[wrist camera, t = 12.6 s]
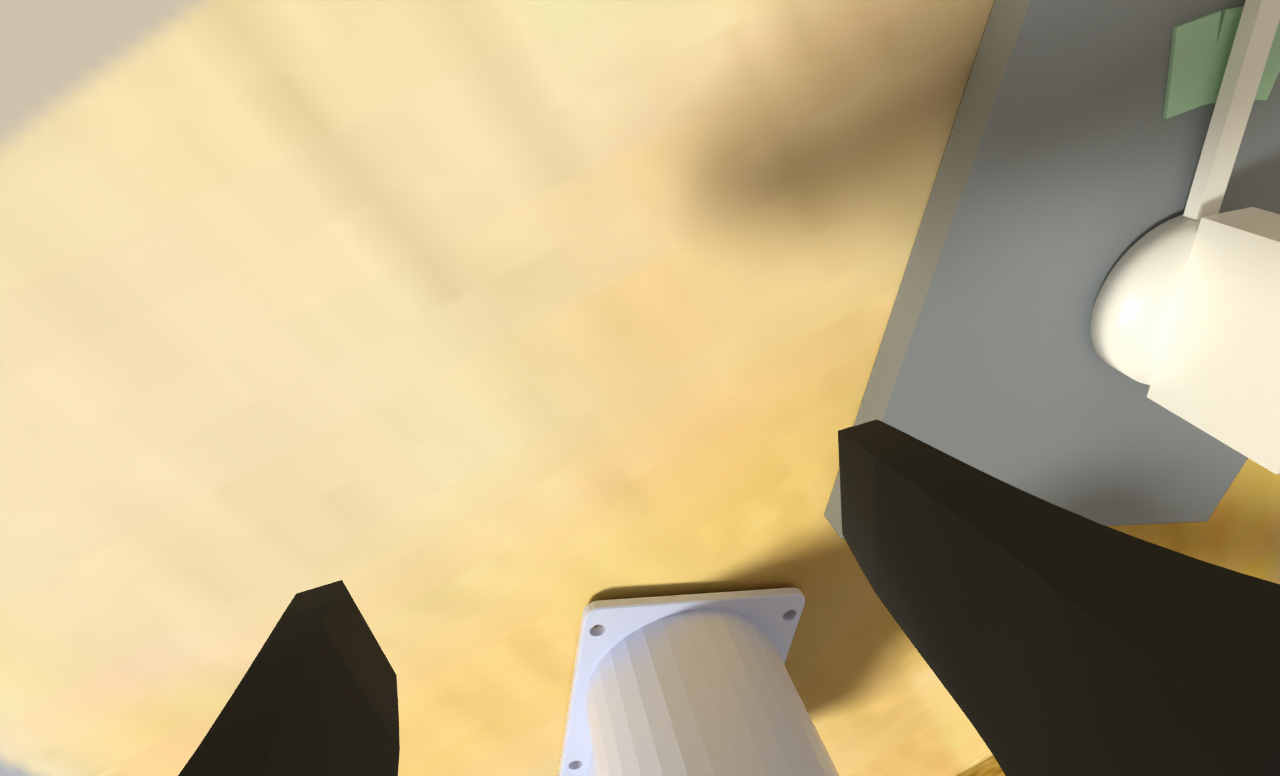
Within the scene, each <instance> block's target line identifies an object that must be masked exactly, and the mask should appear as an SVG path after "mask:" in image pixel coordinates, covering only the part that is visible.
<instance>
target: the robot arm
mask: <svg viewBox="0 0 1280 776" xmlns="http://www.w3.org/2000/svg"><path fill="white" fill-rule="evenodd" d="M838 442H839V467H840V492H841V518H842V534H843V536H844V538H845V540H846V542H847V543H848V545H849V547H850V549H851V551H852V553H853V554H854V556H855V558H856V560H857V562H858V564H859V565H860V567H861V569H862V571H863V572H864V574H865V576H866V577H867V579H868V581H869V583H870V584H871V586H872V588H873V590H874V591H875V593H876V594H877V596H878V597H879V598H880V600H881V601H882V603H883V604H884V605H885V607H886V608H887V609H888V611H889V612H890V614H891V615H892V616H893V618H894V619H895V620H896V622H897V623H898V624H899V626H900V627H901V629H902V630H903V631H904V633H905V634H906V635H907V637H908V638H909V639H910V641H911V642H912V644H913V645H914V646H915V648H916V649H917V650H918V652H919V653H920V654H921V656H922V657H923V658H924V660H925V661H926V662H927V664H928V665H929V666H930V668H931V669H932V670H933V672H934V673H935V674H936V676H937V677H938V679H939V680H940V681H941V683H942V684H943V685H944V687H945V688H946V689H947V691H948V692H949V693H950V695H951V696H952V697H953V699H954V700H955V701H956V703H957V704H958V705H959V707H960V708H961V709H962V711H963V712H964V714H965V715H966V716H967V718H968V719H969V720H970V722H971V723H972V724H973V726H974V727H975V729H976V730H977V732H978V733H979V735H980V736H981V738H982V739H983V741H984V742H985V743H986V745H987V746H988V748H989V749H990V751H991V752H992V754H993V755H994V757H995V759H996V760H997V762H998V763H999V765H1000V767H1001V768H1002V770H1003V772H1004V773H1005V775H1006V776H1280V585H1279V584H1276V583H1273V582H1269V581H1266V580H1262V579H1259V578H1255V577H1252V576H1248V575H1245V574H1242V573H1238V572H1235V571H1232V570H1229V569H1226V568H1223V567H1219V566H1216V565H1213V564H1210V563H1207V562H1204V561H1201V560H1198V559H1195V558H1192V557H1189V556H1186V555H1184V554H1181V553H1178V552H1175V551H1172V550H1169V549H1167V548H1164V547H1161V546H1158V545H1155V544H1152V543H1149V542H1147V541H1144V540H1141V539H1138V538H1135V537H1133V536H1130V535H1128V534H1125V533H1122V532H1120V531H1117V530H1114V529H1112V528H1109V527H1107V526H1104V525H1102V524H1099V523H1097V522H1095V521H1092V520H1090V519H1087V518H1085V517H1083V516H1080V515H1078V514H1076V513H1073V512H1071V511H1068V510H1066V509H1064V508H1061V507H1059V506H1056V505H1054V504H1052V503H1049V502H1047V501H1045V500H1043V499H1041V498H1038V497H1036V496H1034V495H1032V494H1029V493H1027V492H1025V491H1023V490H1021V489H1018V488H1016V487H1014V486H1012V485H1010V484H1008V483H1006V482H1003V481H1001V480H999V479H997V478H995V477H993V476H991V475H989V474H987V473H985V472H983V471H981V470H978V469H976V468H974V467H972V466H970V465H968V464H966V463H964V462H962V461H960V460H958V459H956V458H954V457H952V456H950V455H948V454H946V453H944V452H942V451H940V450H938V449H936V448H934V447H932V446H930V445H928V444H926V443H924V442H922V441H920V440H918V439H916V438H914V437H912V436H911V435H909V434H907V433H905V432H902V431H900V430H898V429H896V428H894V427H892V426H890V425H888V424H886V423H884V422H882V421H880V420H877V419H876V420H873V421H869V422H866V423H863V424H859V425H856V426H853V427H849V428H846V429H843V430H839V431H838ZM805 600H806V599H805V597H804V595H803V594H802V592H801V590H800V589H798V588H793V587H792V588H777V589H762V590H747V591H732V592H717V593H702V594H687V595H672V596H657V597H642V598H627V599H612V600H598V601H593V602H592V603H590V604H588V605H587V606H586V607H585V608H584V610H583V613H582V620H581V626H580V633H579V640H578V646H577V653H576V660H575V667H574V673H573V680H572V687H571V693H570V700H569V707H568V714H567V720H566V727H565V734H564V741H563V747H562V754H561V761H560V767H559V774H558V776H839V774H838V772H837V770H836V768H835V766H834V764H833V762H832V760H831V758H830V756H829V754H828V752H827V750H826V748H825V746H824V744H823V742H822V740H821V738H820V736H819V734H818V732H817V730H816V728H815V726H814V724H813V722H812V720H811V718H810V716H809V714H808V712H807V710H806V708H805V706H804V704H803V702H802V700H801V698H800V696H799V694H798V692H797V690H796V688H795V686H794V684H793V682H792V680H791V678H790V676H789V674H788V672H787V670H786V668H785V666H784V664H785V661H786V658H787V655H788V652H789V649H790V646H791V643H792V640H793V637H794V634H795V632H796V629H797V626H798V623H799V620H800V617H801V614H802V611H803V608H804V605H805ZM595 625H599V626H597V627H593V626H595ZM399 749H400V747H399V715H398V697H397V679H396V674H395V672H394V670H393V669H392V667H391V665H390V663H389V662H388V660H387V658H386V656H385V655H384V653H383V651H382V649H381V648H380V646H379V644H378V642H377V641H376V639H375V637H374V635H373V634H372V632H371V630H370V628H369V627H368V625H367V623H366V621H365V620H364V618H363V616H362V614H361V613H360V611H359V609H358V607H357V606H356V604H355V602H354V600H353V599H352V597H351V595H350V593H349V592H348V590H347V588H346V586H345V585H344V583H343V581H342V580H341V581H337V582H334V583H331V584H327V585H324V586H321V587H317V588H314V589H311V590H307V591H304V592H301V593H297V594H296V595H295V597H294V598H293V600H292V601H291V603H290V604H289V606H288V607H287V609H286V610H285V612H284V614H283V615H282V617H281V618H280V620H279V621H278V623H277V625H276V626H275V628H274V629H273V631H272V633H271V634H270V636H269V637H268V639H267V641H266V642H265V644H264V645H263V647H262V649H261V650H260V652H259V653H258V655H257V657H256V658H255V660H254V661H253V663H252V665H251V666H250V668H249V669H248V671H247V673H246V674H245V676H244V677H243V679H242V680H241V682H240V684H239V685H238V687H237V688H236V690H235V691H234V693H233V695H232V696H231V698H230V699H229V701H228V702H227V704H226V705H225V707H224V708H223V710H222V712H221V713H220V715H219V716H218V718H217V719H216V721H215V722H214V724H213V725H212V727H211V729H210V730H209V732H208V733H207V735H206V736H205V738H204V739H203V741H202V742H201V744H200V745H199V747H198V748H197V750H196V751H195V753H194V754H193V755H192V757H191V758H190V760H189V761H188V763H187V764H186V765H185V767H184V768H183V770H182V771H181V772H180V774H179V775H178V776H398V764H399Z"/></svg>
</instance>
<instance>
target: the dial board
mask: <svg viewBox="0 0 1280 776" xmlns="http://www.w3.org/2000/svg"><path fill="white" fill-rule="evenodd" d="M1245 1H1246V0H995V2H994V5H993V8H992V11H991V14H990V17H989V20H988V23H987V26H986V29H985V32H984V35H983V38H982V41H981V44H980V47H979V50H978V53H977V56H976V59H975V62H974V65H973V68H972V71H971V74H970V77H969V80H968V83H967V86H966V89H965V92H964V95H963V98H962V101H961V104H960V107H959V110H958V113H957V117H956V120H955V123H954V126H953V129H952V132H951V135H950V138H949V141H948V144H947V147H946V150H945V153H944V156H943V159H942V162H941V165H940V168H939V171H938V174H937V177H936V180H935V183H934V186H933V189H932V192H931V195H930V198H929V201H928V204H927V207H926V210H925V213H924V216H923V219H922V222H921V225H920V228H919V231H918V234H917V237H916V240H915V243H914V246H913V249H912V252H911V255H910V258H909V261H908V264H907V267H906V270H905V273H904V276H903V279H902V282H901V285H900V288H899V291H898V294H897V297H896V300H895V303H894V306H893V309H892V312H891V315H890V318H889V321H888V324H887V327H886V330H885V333H884V336H883V339H882V342H881V345H880V349H879V352H878V355H877V358H876V361H875V364H874V367H873V370H872V373H871V376H870V379H869V382H868V385H867V388H866V391H865V394H864V397H863V400H862V403H861V406H860V409H859V412H858V415H857V418H856V421H855V424H854V426H856V425H859V424H863V423H866V422H869V421H873V420H876V419H877V420H880V421H882V422H884V423H886V424H888V425H890V426H892V427H894V428H896V429H898V430H900V431H902V432H905V433H907V434H909V435H911V436H912V437H914V438H916V439H918V440H920V441H922V442H924V443H926V444H928V445H930V446H932V447H934V448H936V449H938V450H940V451H942V452H944V453H946V454H948V455H950V456H952V457H954V458H956V459H958V460H960V461H962V462H964V463H966V464H968V465H970V466H972V467H974V468H976V469H978V470H981V471H983V472H985V473H987V474H989V475H991V476H993V477H995V478H997V479H999V480H1001V481H1003V482H1006V483H1008V484H1010V485H1012V486H1014V487H1016V488H1018V489H1021V490H1023V491H1025V492H1027V493H1029V494H1032V495H1034V496H1036V497H1038V498H1041V499H1043V500H1045V501H1047V502H1049V503H1052V504H1054V505H1056V506H1059V507H1061V508H1064V509H1066V510H1068V511H1071V512H1073V513H1076V514H1078V515H1080V516H1083V517H1085V518H1087V519H1090V520H1092V521H1095V522H1097V523H1099V524H1102V525H1104V526H1118V525H1139V524H1160V523H1182V522H1203V521H1208V519H1209V518H1210V516H1211V515H1212V513H1213V511H1214V510H1215V508H1216V507H1217V505H1218V504H1219V502H1220V501H1221V499H1222V497H1223V496H1224V494H1225V493H1226V491H1227V490H1228V488H1229V487H1230V485H1231V483H1232V482H1233V480H1234V479H1235V477H1236V476H1237V474H1238V473H1239V471H1240V469H1241V468H1242V466H1243V465H1244V463H1245V462H1246V460H1247V459H1248V457H1246V456H1244V455H1243V454H1241V453H1239V452H1238V451H1236V450H1234V449H1233V448H1231V447H1229V446H1228V445H1226V444H1224V443H1223V442H1221V441H1219V440H1218V439H1216V438H1214V437H1213V436H1211V435H1209V434H1208V433H1206V432H1204V431H1202V430H1201V429H1199V428H1197V427H1196V426H1194V425H1192V424H1191V423H1189V422H1187V421H1186V420H1184V419H1182V418H1181V417H1179V416H1177V415H1176V414H1174V413H1172V412H1171V411H1169V410H1167V409H1166V408H1164V407H1162V406H1161V405H1159V404H1157V403H1156V402H1154V401H1152V400H1151V399H1149V398H1147V394H1148V391H1149V388H1150V385H1147V384H1143V383H1140V382H1137V381H1136V380H1134V379H1132V378H1130V377H1128V376H1127V375H1125V374H1123V373H1122V372H1120V371H1118V370H1116V369H1115V368H1113V367H1111V366H1110V365H1108V364H1106V363H1105V362H1104V361H1103V360H1101V359H1100V357H1099V356H1098V355H1097V354H1096V352H1095V350H1094V347H1093V344H1092V341H1091V333H1090V325H1091V317H1092V311H1093V308H1094V305H1095V301H1096V299H1097V296H1098V294H1099V292H1100V289H1101V288H1102V286H1103V284H1104V282H1105V280H1106V278H1107V277H1108V275H1109V274H1110V272H1111V271H1112V269H1113V268H1114V266H1115V265H1116V264H1117V263H1118V261H1119V260H1120V259H1121V258H1122V256H1123V255H1124V254H1125V253H1126V252H1127V251H1128V250H1129V249H1130V248H1131V247H1132V246H1133V245H1134V244H1135V243H1136V242H1137V241H1138V240H1140V239H1141V238H1142V237H1143V236H1145V235H1146V234H1147V233H1148V232H1150V231H1151V230H1153V229H1154V228H1156V227H1157V226H1159V225H1161V224H1163V223H1164V222H1166V221H1168V220H1170V219H1173V218H1175V217H1178V216H1180V215H1183V214H1184V211H1185V207H1186V204H1187V201H1188V197H1189V194H1190V190H1191V187H1192V183H1193V180H1194V177H1195V173H1196V170H1197V166H1198V163H1199V159H1200V156H1201V152H1202V149H1203V146H1204V142H1205V139H1206V135H1207V132H1208V128H1209V125H1210V122H1211V118H1212V115H1213V111H1214V108H1215V104H1216V101H1217V97H1218V94H1219V91H1220V87H1221V84H1222V80H1223V77H1224V73H1225V70H1226V67H1227V63H1228V60H1229V56H1230V53H1231V49H1232V46H1233V42H1234V39H1235V36H1236V32H1237V29H1238V25H1239V22H1240V18H1241V15H1242V12H1243V8H1244V5H1245ZM1249 207H1255V208H1259V209H1262V210H1266V211H1269V212H1273V213H1276V214H1280V20H1279V24H1278V27H1277V30H1276V33H1275V36H1274V39H1273V42H1272V46H1271V49H1270V52H1269V55H1268V58H1267V61H1266V65H1265V68H1264V71H1263V74H1262V77H1261V80H1260V84H1259V87H1258V90H1257V93H1256V96H1255V99H1254V103H1253V106H1252V109H1251V112H1250V115H1249V118H1248V121H1247V125H1246V128H1245V131H1244V134H1243V137H1242V140H1241V144H1240V147H1239V150H1238V153H1237V156H1236V159H1235V163H1234V166H1233V169H1232V172H1231V175H1230V178H1229V182H1228V185H1227V188H1226V191H1225V194H1224V197H1223V200H1222V204H1221V207H1220V210H1219V214H1220V213H1225V212H1230V211H1234V210H1239V209H1244V208H1249ZM824 516H825V517H826V519H827V520H828V521H829V523H830V524H831V526H832V527H833V528H834V530H835V531H836V533H837V534H838V535H839V537H840V538H841V539H842V538H844V536H843V534H842V518H841V492H840V469H839V472H838V475H837V478H836V481H835V484H834V487H833V490H832V493H831V496H830V499H829V502H828V505H827V508H826V511H825V514H824Z"/></svg>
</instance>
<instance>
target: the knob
mask: <svg viewBox="0 0 1280 776" xmlns="http://www.w3.org/2000/svg"><path fill="white" fill-rule="evenodd" d="M1279 20H1280V0H1246V1H1245V5H1244V8H1243V12H1242V15H1241V18H1240V22H1239V25H1238V29H1237V32H1236V36H1235V39H1234V42H1233V46H1232V49H1231V53H1230V56H1229V60H1228V63H1227V67H1226V70H1225V73H1224V77H1223V80H1222V84H1221V87H1220V91H1219V94H1218V97H1217V101H1216V104H1215V108H1214V111H1213V115H1212V118H1211V122H1210V125H1209V128H1208V132H1207V135H1206V139H1205V142H1204V146H1203V149H1202V152H1201V156H1200V159H1199V163H1198V166H1197V170H1196V173H1195V177H1194V180H1193V183H1192V187H1191V190H1190V194H1189V197H1188V201H1187V204H1186V207H1185V211H1184V214H1183V215H1180V216H1178V217H1175V218H1173V219H1170V220H1168V221H1166V222H1164V223H1163V224H1161V225H1159V226H1157V227H1156V228H1154V229H1153V230H1151V231H1150V232H1148V233H1147V234H1146V235H1145V236H1143V237H1142V238H1141V239H1140V240H1138V241H1137V242H1136V243H1135V244H1134V245H1133V246H1132V247H1131V248H1130V249H1129V250H1128V251H1127V252H1126V253H1125V254H1124V255H1123V256H1122V258H1121V259H1120V260H1119V261H1118V263H1117V264H1116V265H1115V266H1114V268H1113V269H1112V271H1111V272H1110V274H1109V275H1108V277H1107V278H1106V280H1105V282H1104V284H1103V286H1102V288H1101V289H1100V292H1099V294H1098V296H1097V299H1096V301H1095V305H1094V308H1093V311H1092V317H1091V325H1090V333H1091V341H1092V344H1093V347H1094V350H1095V352H1096V354H1097V355H1098V356H1099V357H1100V359H1101V360H1103V361H1104V362H1105V363H1106V364H1108V365H1110V366H1111V367H1113V368H1115V369H1116V370H1118V371H1120V372H1122V373H1123V374H1125V375H1127V376H1128V377H1130V378H1132V379H1134V380H1136V381H1137V382H1140V383H1143V384H1147V385H1150V388H1149V391H1148V394H1147V398H1149V399H1151V400H1152V401H1154V402H1156V403H1157V404H1159V405H1161V406H1162V407H1164V408H1166V409H1167V410H1169V411H1171V412H1172V413H1174V414H1176V415H1177V416H1179V417H1181V418H1182V419H1184V420H1186V421H1187V422H1189V423H1191V424H1192V425H1194V426H1196V427H1197V428H1199V429H1201V430H1202V431H1204V432H1206V433H1208V434H1209V435H1211V436H1213V437H1214V438H1216V439H1218V440H1219V441H1221V442H1223V443H1224V444H1226V445H1228V446H1229V447H1231V448H1233V449H1234V450H1236V451H1238V452H1239V453H1241V454H1243V455H1244V456H1246V457H1248V458H1249V459H1251V460H1253V461H1254V462H1256V463H1258V464H1259V465H1261V466H1263V467H1264V468H1266V469H1268V470H1269V471H1271V472H1273V473H1274V474H1279V473H1280V214H1276V213H1273V212H1269V211H1266V210H1262V209H1259V208H1255V207H1249V208H1244V209H1239V210H1234V211H1230V212H1225V213H1220V214H1219V210H1220V207H1221V204H1222V200H1223V197H1224V194H1225V191H1226V188H1227V185H1228V182H1229V178H1230V175H1231V172H1232V169H1233V166H1234V163H1235V159H1236V156H1237V153H1238V150H1239V147H1240V144H1241V140H1242V137H1243V134H1244V131H1245V128H1246V125H1247V121H1248V118H1249V115H1250V112H1251V109H1252V106H1253V103H1254V99H1255V96H1256V93H1257V90H1258V87H1259V84H1260V80H1261V77H1262V74H1263V71H1264V68H1265V65H1266V61H1267V58H1268V55H1269V52H1270V49H1271V46H1272V42H1273V39H1274V36H1275V33H1276V30H1277V27H1278V24H1279Z"/></svg>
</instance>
